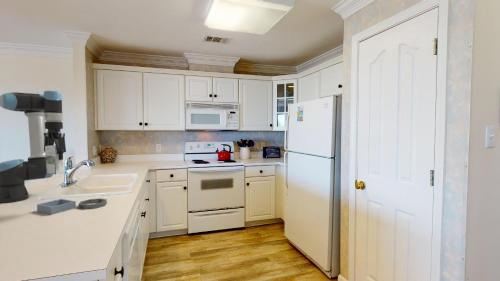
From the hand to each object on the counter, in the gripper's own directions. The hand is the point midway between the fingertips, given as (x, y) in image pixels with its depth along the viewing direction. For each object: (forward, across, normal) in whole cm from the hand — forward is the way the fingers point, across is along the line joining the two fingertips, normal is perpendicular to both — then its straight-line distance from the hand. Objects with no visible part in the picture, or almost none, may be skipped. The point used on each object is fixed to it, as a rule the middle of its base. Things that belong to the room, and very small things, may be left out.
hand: (55, 165), depth 140 cm
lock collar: (+23, +10, +13) cm, 28 cm away
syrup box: (+4, 0, 0) cm, 4 cm away
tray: (+23, 0, 0) cm, 23 cm away
